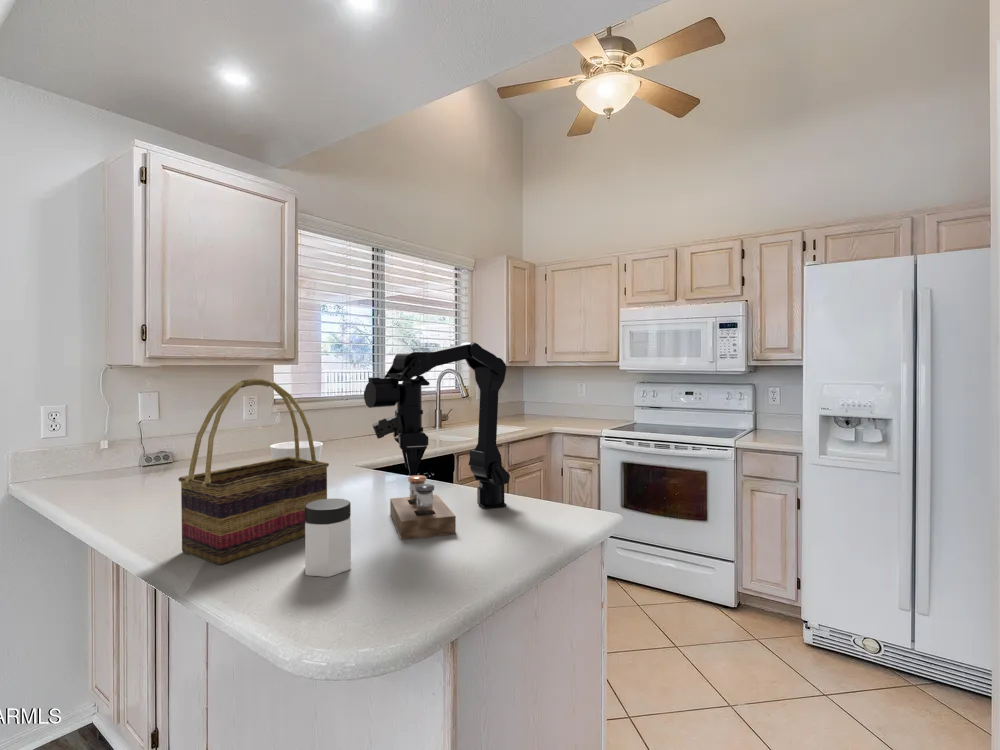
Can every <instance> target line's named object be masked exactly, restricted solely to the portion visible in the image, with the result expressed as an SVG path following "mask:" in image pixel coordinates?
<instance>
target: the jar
mask: <svg viewBox="0 0 1000 750" xmlns="http://www.w3.org/2000/svg"><path fill="white" fill-rule="evenodd" d="M351 514H352V513H351V501H350V500H348V499H345V498H327V499H322V500H316V501H313V502H310V503H308V504H306V505H305V510H304V516H305V536H304V546H305V547H304V549H305V551H304V552H305V553H304V555H305V556H304V559H305V560H304V561H305V562H304V565H305V567H304V569H305V571H304V573H305V575H306V576H311V577H321V578H322V577H324V578H329V577H333V576H335V575H338V574H341V573H344V572H347V571H349V570H351V569H352V546H351V545H352V544H351V543H352V539H351V537H352V535H351V534H352V533H351V531H352V530H351V529H352V528H351V527H352V526H351V525H352V523H351V521H352V520H351V516H352V515H351Z"/></svg>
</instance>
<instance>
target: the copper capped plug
mask: <svg viewBox="0 0 1000 750" xmlns="http://www.w3.org/2000/svg"><path fill="white" fill-rule="evenodd" d="M407 481H408V483H409V497H410V504H417V491H415V486H416V485H421V484H426V483H425V482H426V481H427V476H425V475H421V474H420V475H419V474H418V475H416V474H415V475H410V476H408V479H407Z"/></svg>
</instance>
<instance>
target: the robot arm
mask: <svg viewBox="0 0 1000 750" xmlns="http://www.w3.org/2000/svg"><path fill="white" fill-rule="evenodd" d="M463 360H465V362H466V365H468V367H469V368H470V369H472V370H473V371H474V378H475V382H476V384H477V386H478V388H479V408H478V409H479V410H478V412H479V415H478V429H477V430H478V434H477V435H478V436H477V444H476V446H475V448H474V450H473V449H471V450H469V453H468V454H469V461H468V466H470V467H469V469H470V471H471V473H472V474H473V476H474V479H475V481H477V482H478V487H477V490H476V491H477V494H476V495H477V498H476V500H477V501H476V502H477V504H478V505H480V507H482V508H483V509H489V508H490V509H491V508H501V507H507V506H508V505H507V503H505V485H506V484H509V482H510V478H511V474H510V473H509V472H508V471H507V470H506V469H505V468H504V467H503V462H502V454H501V452H500V450H499V447H498V445H497V440H498V439H497V435H498V434H497V431H498V413H499V412H498V411H499V391H500V389H501V388H502V386H503V384H504V383H505V378H506V375H507V374H506V372H507V364H506V362H505V361H504V360H503V358H500V357H497V355H495V353H492V352H490V351H488V350H487V349H484V348H483V347H482V346H481V345H479V344H478V343H476V342H463V343H461V344H457V345H453V346H449V347H443V348H439V349H435V350H431V351H411V352H408V351H407V352H405V351H404V352H399V353H397V354H396V355H395V356H394V358H393V361H392V365H390V368H389V369H388V371H387V373H386V374H385V375H384V377H368V378H367V379H368V383H367V384H366V385H365V388H364V391H363V399H364V404H365V405H366V406H367V408H369V409H372V408H373V409H374V408H389V407H390V408H391V407H395V406H396V409H395V410H394V415H393V416H389V417H388V418H385V417H383V418H382V419H378V421H377V422H374V423H373V424H372V425H371V426H372V428H373V430H374V433H375V437H376V438H377V440H378V439H382V438H384V437H385V436H387V435H389V434H392V433H393V435H392V436H393V439H394V441H395V442H396V443H398V447H399V449H400V450H401V453H402V457H403V463H404V466H405V468H406V469H407V468H408V471H409V475H410V476H416V473H417V471H418V468H419V466H420V463H421V461H422V458H423V456H424V454H425V452H426V449H428V446H429V436H428V435H427V434H426V433H425V432H424V426H423V425H422V423H423V421H422V420H423V417H422V416H423V415H424V409H422V406H423V405H422V396H423V395H422V386H424V387H426V386H430V384H431V383H430V382H429V381H428V380H427V379H426V378H425V377H424V376H423V374H426V373H428V372H429V371H431V370H433V369H434V368H437V367H439V366H443V365H445V364H447V365H448V364H451V363H454V362H459V361H463ZM400 382H401V383H400Z"/></svg>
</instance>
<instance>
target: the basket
mask: <svg viewBox="0 0 1000 750" xmlns="http://www.w3.org/2000/svg"><path fill="white" fill-rule="evenodd" d="M251 386H263V387H267V388H269V387H271V388H272V389H273V390H274V391H275V392H276V393H277V394H278V395H279V396H280V397H281V398H282V400H283V402H284V404H285V406H286V407H287V410H288V412H289V415H290V419H291V423H292V426H293V427H292V428H293V437H294V441H295V455H296V456H295V457H284V458H279V459H274V460H273V459H269V460H265V461H259V462H256V463H255V462H254V463H250V464H245V465H244V464H243V465H239V466H234V467H233V466H232V467H228V468H227V467H226V468H222V469H216V470H212V462H213V450H214V441H215V436H216V432H217V429H218V427H219V423H220V420H221V417H222V415H223V413H224V410H225V409H226V407H227V406H228V404H229V403H230V401H231V400H232V398H233V396H234V395H236V394H237V393H238V391H239V390H240V389H243V388H246V387H251ZM292 405H293V406H292ZM293 407H294V408H293ZM294 409H296V411H297V412H298V415H299V416H300V418H301V421H302V423H303V425H304V428H305V431H306V435H307V437H306V438H307V441H308V442H309V447H310V452H311V460H305V459H301V458H300V454H299V441H300V440H299V439H300V438H299V426H298V423H297V420H296V419H297V418H296V415H295V411H294ZM215 413H216V414H215ZM214 414H215V417H214V420H213V423H212V427H211V429H210V432H209V436H208V440H207V452H206V461H205V471H204V472H201V473H195V471H196V465H197V462H198V461H197V460H198V458H199V456H198V455H199V453H200V448H201V443H202V440H203V436H204V434H205V432H206V430H207V428H208V426H209V424H210V421H211V420H212V418H213V416H214ZM311 430H312V429H311V426H310V423H309V422H308V419H307V417H306V415H305V413H304V410H303V409H302V408H301V406H300V404H299V403H298V402H297V401H296V399H295V398H294V397H293V395H292V394H291V393H289V392H288V391H287V390H286V389H284V388H283V387H281V386H280V385H279V384H277V383H276V382H275V381H270V380H269V379H265V378H259V377H258V378H256V377H255V378H246V379H244V380H241V381H238V382H236V383H235V384H234V385H233V386H231V387H230V388H229V389H227V390H226V391H225V392H224V393H222V395H220V397H219V398H218V400H217V401H216V402H215V403H214V405H213V406H212V407H211V408H210V410H208V413H207V414H206V417H205V419H204V421H203V422H202V424H201V426H200V429H199V430H198V432H197V435H196V437H195V443H194V446H193V451H192V456H191V459H190V464H189V469H188V474H187V475H183V476H180V477H179V478H178V480H177V481H178V482H180V486H181V487H180V489H181V492H180V493H181V494H180V495H181V497H180V498H181V500H180V501H181V504H180V505H181V552H182V553H184V554H187V555H190V556H194V557H196V558H198V559H202V560H205V561H208V562H210V563H214V564H217V565H220V566H221V565H225V564H228V563H231V562H235V561H237V560H240V559H243V558H247V557H249V556H251V555H255V554H257V553H261V552H263V551H266V550H269V549H272V548H275V547H277V546H280V545H281V546H282V545H284V544H287V543H289V542H292V541H295V540H298V539H301V538H305V516H304V510H305V505H306V504H308V503H310V502H313V501H316V500H322V499H328V467H329V466H330V463H328V462H325V461H320V460H319V461H317V460H316V456H315V449H314V444H313V441H314V439H313V436H312V431H311Z"/></svg>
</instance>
